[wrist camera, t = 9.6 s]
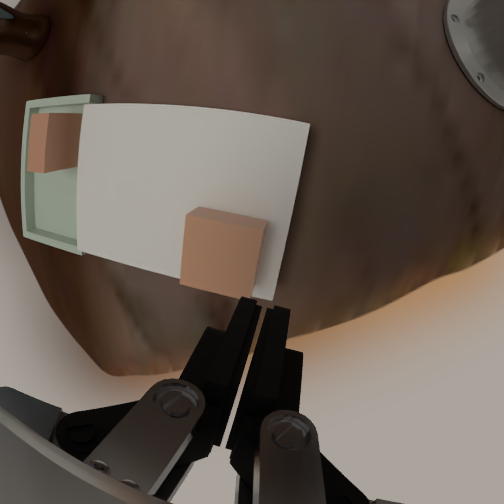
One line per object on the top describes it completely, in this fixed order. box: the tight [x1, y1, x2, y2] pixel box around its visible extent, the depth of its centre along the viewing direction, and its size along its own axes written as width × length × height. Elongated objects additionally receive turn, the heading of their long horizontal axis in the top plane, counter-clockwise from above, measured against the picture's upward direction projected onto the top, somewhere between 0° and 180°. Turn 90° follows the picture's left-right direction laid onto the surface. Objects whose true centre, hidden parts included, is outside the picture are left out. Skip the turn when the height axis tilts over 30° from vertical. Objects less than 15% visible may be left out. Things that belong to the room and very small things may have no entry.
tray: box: [21, 94, 104, 255], centre depth 24 cm, size 10×15×2 cm, turn 170°
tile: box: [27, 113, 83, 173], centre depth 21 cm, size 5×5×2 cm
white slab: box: [76, 104, 310, 301], centre depth 22 cm, size 18×13×3 cm
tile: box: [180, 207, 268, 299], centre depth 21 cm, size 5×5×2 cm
